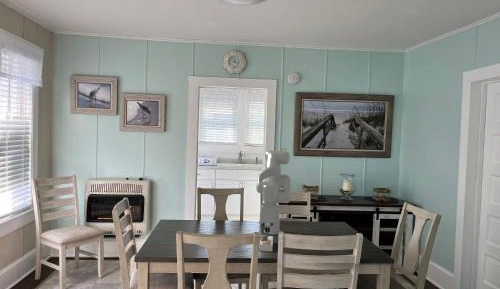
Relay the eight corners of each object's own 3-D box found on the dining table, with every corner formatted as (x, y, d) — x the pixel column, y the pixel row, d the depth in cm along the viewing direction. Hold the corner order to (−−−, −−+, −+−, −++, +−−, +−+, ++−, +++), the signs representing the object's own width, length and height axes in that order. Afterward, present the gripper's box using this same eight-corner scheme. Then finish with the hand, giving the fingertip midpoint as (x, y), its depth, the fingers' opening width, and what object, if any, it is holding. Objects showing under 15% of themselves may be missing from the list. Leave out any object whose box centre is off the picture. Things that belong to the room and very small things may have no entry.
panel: (257, 241, 253) (257, 235, 253) (272, 242, 253) (272, 236, 252) (256, 250, 234) (256, 244, 234) (272, 251, 234) (272, 245, 234)
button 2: (263, 245, 239) (263, 240, 239) (270, 246, 239) (270, 241, 239) (263, 247, 235) (263, 242, 235) (269, 248, 235) (270, 242, 235)
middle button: (261, 239, 246) (262, 234, 245) (268, 239, 245) (268, 234, 245) (261, 241, 242) (261, 236, 241) (267, 241, 241) (268, 236, 241)
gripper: (280, 203, 239) (279, 232, 241) (256, 202, 240) (255, 231, 242) (280, 206, 232) (279, 235, 233) (255, 205, 233) (255, 234, 234)
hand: (267, 233), depth 237 cm, fingers closed
